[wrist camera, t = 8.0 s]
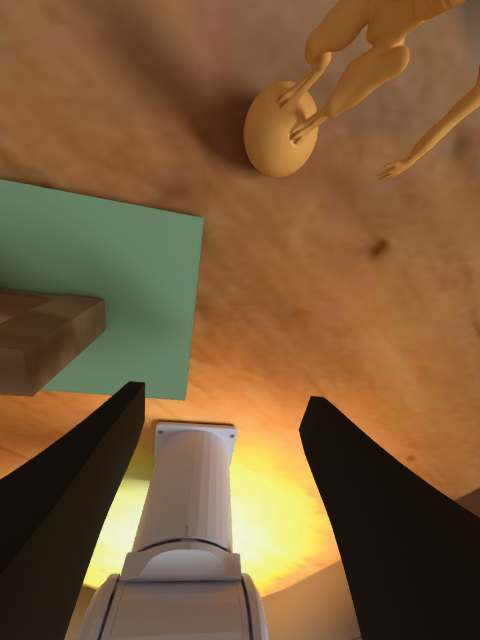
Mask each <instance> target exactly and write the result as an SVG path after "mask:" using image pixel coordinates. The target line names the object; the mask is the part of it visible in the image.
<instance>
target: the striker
mask: <svg viewBox="0 0 480 640" xmlns="http://www.w3.org/2000/svg"><path fill="white" fill-rule="evenodd" d="M105 331H106V318H105V299H101V298H93V297H85V296H78V295H70V294H66V295H63V296H57V295H49V294H41V293H33V292H25V291H18V290H10V289H2V288H0V394H1V395H15V396H30V397H33V396H34V395H35V394H36V393H37V392H38V391H39V390H41V389H42V388H43V387H44V386H45V385H46V384H47V383H48V382H49V381H50V380H52V379H53V378H54V377H55V376H56V375H57V374H58V373H59V372H60V371H62V370H63V369H64V368H65V367H66V366H67V365H68V364H69V363H70V362H71V361H73V360H74V359H75V358H76V357H77V356H78V355H79V354H80V353H81V352H82V351H84V350H85V349H86V348H87V347H88V346H89V345H90V344H91V343H92V342H94V341H95V340H96V339H97V338H98V337H99V336H100V335H101V334H102V333H103V332H105Z"/></svg>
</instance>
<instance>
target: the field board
mask: <svg viewBox="0 0 480 640" xmlns="http://www.w3.org/2000/svg"><path fill="white" fill-rule="evenodd" d="M203 226H204V218H201V217H196V216H191V215H185V214H180V213H175V212H170V211H164V210H159V209H154V208H149V207H144V206H138V205H133V204H128V203H123V202H117V201H112V200H107V199H102V198H96V197H91V196H86V195H81V194H75V193H70V192H65V191H60V190H54V189H49V188H44V187H39V186H33V185H28V184H23V183H18V182H13V181H7V180H2V179H0V288H2V289H10V290H18V291H25V292H33V293H41V294H49V295H57V296H63V295H66V294H70V295H78V296H85V297H93V298H101V299H105V318H106V331H105V332H103V333H102V334H101V335H100V336H99V337H98V338H97V339H96V340H95V341H94V342H92V343H91V344H90V345H89V346H88V347H87V348H86V349H85V350H84V351H82V352H81V353H80V354H79V355H78V356H77V357H76V358H75V359H74V360H73V361H71V362H70V363H69V364H68V365H67V366H66V367H65V368H64V369H63V370H62V371H60V372H59V373H58V374H57V375H56V376H55V377H54V378H53V379H52V380H50V381H49V382H48V383H47V384H46V385H45V386H44V387H43V388H42V389H41V390H47V391H61V392H75V393H88V394H102V395H114V394H115V393H116V392H117V391H119V390H120V389H121V388H122V387H123V386H124V385H125V384H126V383H128V382H129V381H134V382H145V398H157V399H171V400H185V396H186V389H187V380H188V370H189V361H190V351H191V341H192V332H193V322H194V312H195V303H196V293H197V283H198V274H199V264H200V255H201V245H202V235H203Z"/></svg>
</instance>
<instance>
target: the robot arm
mask: <svg viewBox="0 0 480 640" xmlns="http://www.w3.org/2000/svg"><path fill="white" fill-rule="evenodd" d="M144 421H145V382H134V381H129V382H128V383H126V384H125V385H124V386H123V387H122V388H121V389H120V390H119V391H117V392H116V393H115V394H114V395H113V396H112V397H111V398H109V399H108V400H107V401H106V402H105V403H104V404H103V405H101V406H100V407H99V408H98V409H97V410H95V411H94V412H93V413H92V414H90V415H89V416H88V417H87V418H86V419H84V420H83V421H82V422H81V423H79V424H78V425H77V426H76V427H74V428H73V429H72V430H70V431H69V432H68V433H66V434H65V435H64V436H63V437H61V438H60V439H59V440H57V441H56V442H55V443H53V444H52V445H51V446H49V447H48V448H46V449H45V450H44V451H42V452H41V453H39V454H38V455H36V456H35V457H34V458H32V459H31V460H29V461H28V462H26V463H25V464H23V465H22V466H20V467H19V468H17V469H16V470H14V471H13V472H11V473H10V474H8V475H7V476H5V477H3V478H2V479H0V640H64V638H65V635H66V632H67V629H68V626H69V623H70V620H71V617H72V613H73V611H74V608H75V605H76V602H77V599H78V596H79V593H80V590H81V587H82V584H83V581H84V578H85V575H86V572H87V569H88V566H89V563H90V560H91V557H92V555H93V552H94V549H95V546H96V543H97V540H98V537H99V534H100V532H101V529H102V526H103V524H104V521H105V519H106V516H107V514H108V511H109V509H110V506H111V504H112V502H113V500H114V497H115V495H116V493H117V490H118V488H119V486H120V483H121V481H122V479H123V477H124V474H125V472H126V470H127V467H128V465H129V463H130V460H131V458H132V456H133V453H134V451H135V449H136V446H137V443H138V440H139V437H140V434H141V431H142V427H143V424H144ZM160 430H161V431H160ZM299 432H300V437H301V441H302V445H303V449H304V452H305V455H306V458H307V461H308V464H309V466H310V469H311V472H312V474H313V477H314V480H315V482H316V485H317V487H318V490H319V493H320V495H321V498H322V500H323V503H324V506H325V508H326V511H327V514H328V517H329V519H330V522H331V525H332V528H333V532H334V535H335V539H336V542H337V545H338V549H339V552H340V556H341V559H342V563H343V566H344V570H345V574H346V578H347V581H348V585H349V589H350V592H351V596H352V600H353V604H354V608H355V612H356V616H357V620H358V624H359V628H360V632H361V637H362V640H480V518H479V517H478V516H476V515H474V514H473V513H471V512H470V511H468V510H466V509H465V508H464V507H462V506H461V505H459V504H458V503H456V502H455V501H453V500H452V499H450V498H449V497H447V496H446V495H444V494H443V493H441V492H440V491H438V490H437V489H435V488H434V487H433V486H431V485H430V484H428V483H427V482H426V481H424V480H423V479H422V478H420V477H419V476H417V475H416V474H415V473H413V472H412V471H411V470H409V469H408V468H407V467H405V466H404V465H403V464H401V463H400V462H399V461H398V460H396V459H395V458H394V457H393V456H391V455H390V454H389V453H388V452H386V451H385V450H384V449H383V448H382V447H380V446H379V445H378V444H377V443H376V442H374V441H373V440H372V439H371V438H370V437H369V436H367V435H366V434H365V433H364V432H363V431H362V430H361V429H359V428H358V427H357V426H356V425H355V424H354V423H353V422H352V421H350V420H349V419H348V418H347V417H346V416H345V415H344V414H343V413H342V412H340V411H339V410H338V409H337V408H336V407H335V406H334V405H332V404H331V403H330V402H329V401H328V400H327V399H325V398H324V397H317V396H311V397H310V400H309V403H308V406H307V408H306V411H305V414H304V417H303V419H302V422H301V425H300V428H299ZM237 433H238V432H237V427H235V426H225V425H208V424H191V423H174V422H159V423H157V424H156V428H155V448H154V470H153V474H152V478H151V481H150V485H149V489H148V492H147V496H146V500H145V504H144V507H143V511H142V515H141V518H140V522H139V526H138V529H137V533H136V537H135V540H134V544H133V548H132V552H130V553H127V555H126V559H125V562H124V566H123V569H122V573H121V576H120V574H111V575H110V576H109V577H108V578H107V580H106V581H105V582H104V583H103V584H102V585H101V586H100V587H99V588H98V589H97V591H96V592H95V594H94V596H93V598H92V600H91V602H90V605H89V607H88V609H87V612H86V615H85V617H84V619H83V622H82V624H81V627H80V630H79V632H78V636H77V638H76V640H269V638H268V630H267V624H266V618H265V612H264V608H263V604H262V600H261V597H260V594H259V592H258V590H257V588H256V587H255V585H254V583H253V580H252V579H251V577H250V576H249V575H248V574H246V573H241V563H240V554H236V553H233V543H232V519H231V495H230V471H229V468H230V463H231V459H232V454H233V450H234V446H235V441H236V437H237ZM231 434H233V435H231Z"/></svg>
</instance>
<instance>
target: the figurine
mask: <svg viewBox="0 0 480 640" xmlns="http://www.w3.org/2000/svg"><path fill="white" fill-rule="evenodd" d="M467 1H468V0H340V1H339V2H338V3H337V4H336V5H335V6H334V7H333V8H332V9H331V11H330V12H329V13H328V14H327V16H326V17H325V18H324V20H323V21H322V23H321V24H320V25H319V26H318V28H317V29H316V30H315V31H313V32H312V33H311V35H310V36H309V37H308V39H307V42H306V47H305V58H306V60H307V62H308V63H309V64H310V65H311V66H312V68H310V69H309V70H308V71H307V72H306V73H305V75H304V76H303V77H302V78H301V79H300V80H299V81H298V82H297V83H294V82H290V81H280V82H276V83H273V84H271V85H269V86H268V87H266V88H265V89H264V90H262V91H261V92H260V93H259V94H258V96H257V97H256V98H255V99H254V101H253V103H252V104H251V106H250V108H249V110H248V113H247V116H246V120H245V125H244V145H245V149H246V153H247V155H248V157H249V159H250V161H251V163H252V164H253V166H254V167H255V168H256V169H257V170H258V171H260V172H261V173H263V174H264V175H267V176H270V177H284V176H287V175H290V174H292V173H293V172H295V171H296V170H298V169H299V168H300V167H301V166H302V165H303V164H304V163H305V162H306V160H307V159H308V158H309V156H310V154H311V152H312V150H313V148H314V145H315V142H316V139H317V134H318V125H320V124H321V123H322V122H323V121H325V120H326V119H327V118H333V117H336V116H338V115H339V114H340V113H342V112H344V111H346V110H348V109H350V108H352V107H353V106H355V105H356V104H358V103H359V102H360V101H362V100H363V99H364V98H365V97H366V96H367V95H368V94H369V93H370V92H371V91H373V90H374V89H375V88H376V87H378V86H379V85H381V84H382V83H384V82H386V81H388V80H390V79H392V78H393V77H395V76H397V75H398V74H400V73H401V72H402V71H403V70H404V69H405V67H406V65H407V63H408V61H409V57H410V52H409V49H408V47H406V46H405V44H404V39H405V37H406V35H407V34H408V33H409V32H410V31H412V30H413V29H415V28H416V27H417V26H419V25H420V24H422V23H423V22H424V21H425V20H428V19H431V18H434V17H436V16H438V15H440V14H441V13H443V12H444V11H446V10H450V9H452V8H455V7H457V6H459V5H461V4H463V3H465V2H467ZM366 24H369V25H368V30H367V41H368V42H369V43H371V44H372V45H373V47H372V48H371V49H370V50H369V51H367V52H365V53H363V54H361V55H360V56H358V57H357V58H356V59H355V60H353V61H352V62H351V63H350V64H349V65H348V67H347V68H346V69H345V71H344V72H343V74H342V76H341V78H340V81H339V83H338V85H337V87H336V88H335V90H334V91H333V93H332V94H331V95H330V97H329V98H328V100H327V101H326V103H325V106H323V107H322V108H321V109H320V110H318V111H317V109H316V106H315V103H314V101H313V99H312V97H311V95H310V94H309V93H308V92H307V90H308V89H309V88H310V86H311V85H312V84H313V83H314V82H315V81H316V80H317V79H318V78H319V77H320V75H321V74H322V73H323V71H324V70H325V68H326V67H327V66H328V64H329V62H330V60H331V52H337V51H340V50H342V49H344V48H346V47H347V46H348V45H349V44H350V43H351V42H352V41H353V40H354V39H355V38H356V36H357V35H358V34H359V33H360V31H361V30H362V29H363V27H364V26H365V25H366ZM478 106H480V66H479V72H478V78H477V82H476V85H475V87H474V88H473V89H472V90H471V91H470V92H469V93H468V94H467V95H465V96H464V97H463V98H462V99H461V100H459V101H458V102H457V103H456V104H455V105H454V106H453V108H452V109H451V110H450V111H449V112H448V113H447V114H446V115H445V116H444V117H443V118H442V119H441V120H440V121H439V122H438V123H436V124H435V125H434V126H433V127H432V128H431V129H430V130H429V131H428V132H427V133H426V134H425V135H424V136H423V137H422V138H421V139H420V140H419V142H418V143H417V144H416V145H415V147H414V148H413V149H412V150H411V152H410V153H409V155H408V156H407V157H406V158H405V159H403V160H401V161H396V162H392V163H389V164H386V165H385V166H384V167H392V168H390V169H388V170H386V171H384V172H382V173H380V174H378V175H376V176H375V177H380V176H383V175H385V176H383V177H381V178H380V179H379V180H383V179H388V178H391V177H393V176H395V175H397V174H399V173H401V172H402V171H404V170H405V169H407V168H408V167H410V166H411V165H412V164H413V163H414V162H415V161H416V160H417V159H418V158H420V157H421V156H422V155H423V154H425V153H426V152H427V151H428V150H430V149H431V148H432V147H433V146H434V145H435V144H436V143H437V142H438V141H439V140H440V139H441V138H442V137H443V136H444V135H445V134H446V133H447V132H449V131H450V130H451V129H452V128H453V127H454V126H455V125H456V124H457V123H458V122H459V121H460V120H462V119H463V118H464V117H465V116H467V115H468V114H469V113H471V112H472V111H473V110H475V109H476V108H477V107H478Z"/></svg>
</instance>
